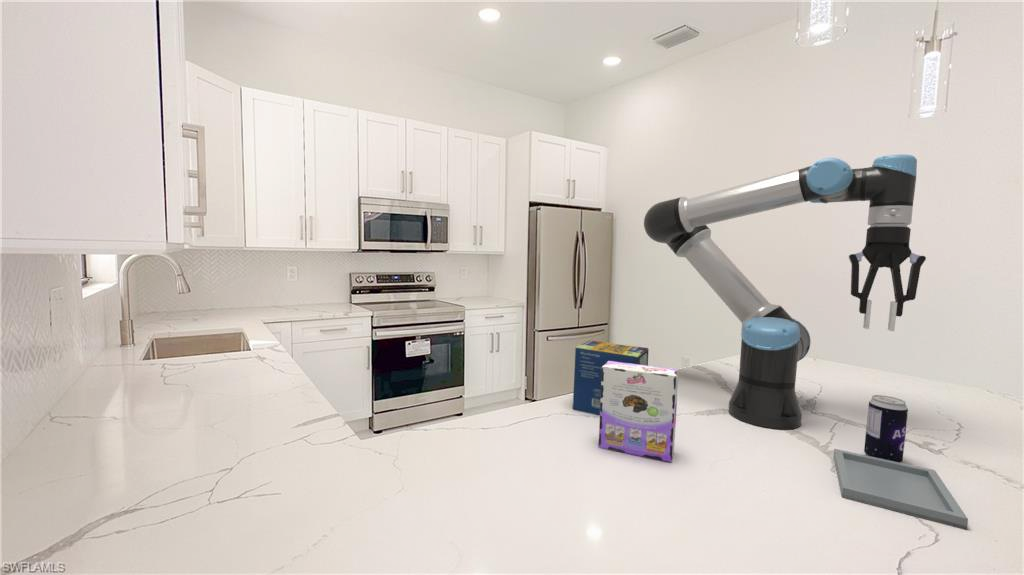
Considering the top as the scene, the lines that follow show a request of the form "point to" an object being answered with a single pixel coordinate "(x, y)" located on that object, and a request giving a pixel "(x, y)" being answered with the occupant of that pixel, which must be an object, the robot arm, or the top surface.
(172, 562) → the top surface
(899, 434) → the beverage can
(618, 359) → the protein box
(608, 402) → the candy box
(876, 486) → the tray
